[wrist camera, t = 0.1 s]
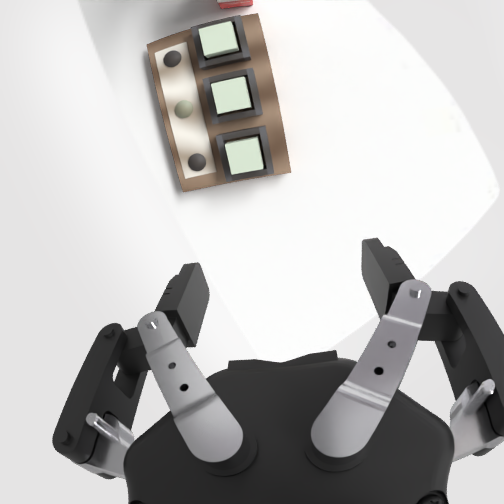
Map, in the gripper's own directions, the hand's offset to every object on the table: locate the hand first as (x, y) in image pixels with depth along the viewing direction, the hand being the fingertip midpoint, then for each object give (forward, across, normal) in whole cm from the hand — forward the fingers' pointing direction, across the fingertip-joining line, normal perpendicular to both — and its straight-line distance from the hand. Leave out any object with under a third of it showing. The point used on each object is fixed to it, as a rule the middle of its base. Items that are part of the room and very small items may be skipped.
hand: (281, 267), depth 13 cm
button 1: (+24, +3, -18) cm, 30 cm away
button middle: (+24, +3, -10) cm, 27 cm away
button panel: (+29, +6, -10) cm, 31 cm away
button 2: (+24, +4, -2) cm, 25 cm away
